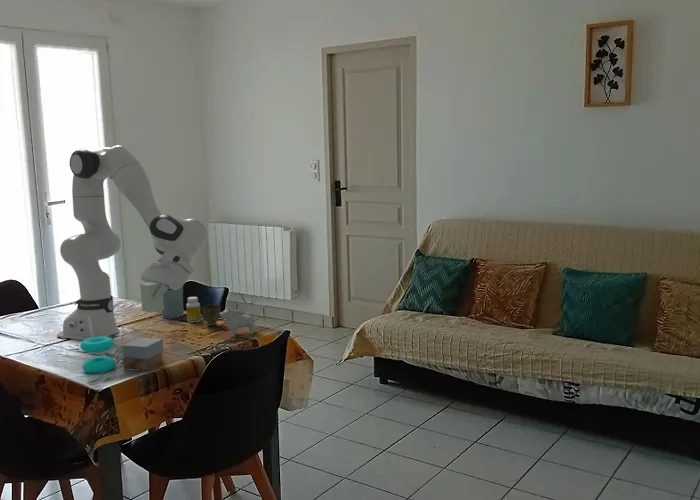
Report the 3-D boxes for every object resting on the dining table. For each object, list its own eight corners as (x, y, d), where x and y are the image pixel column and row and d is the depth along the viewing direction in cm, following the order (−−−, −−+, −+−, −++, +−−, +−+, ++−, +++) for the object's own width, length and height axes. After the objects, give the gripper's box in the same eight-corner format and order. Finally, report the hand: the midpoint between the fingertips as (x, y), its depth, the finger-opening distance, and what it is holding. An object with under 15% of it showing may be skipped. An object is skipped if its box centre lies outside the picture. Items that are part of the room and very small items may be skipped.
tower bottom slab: (124, 370, 223) (123, 358, 222) (137, 361, 231) (136, 350, 231) (150, 371, 221) (149, 359, 220) (162, 362, 230) (161, 350, 229)
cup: (225, 323, 275) (223, 303, 274) (215, 328, 268) (214, 308, 267) (208, 322, 278) (207, 303, 276) (198, 327, 271) (197, 307, 269)
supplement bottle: (197, 323, 277) (196, 299, 276) (185, 323, 279) (183, 299, 277) (203, 319, 283) (201, 296, 281) (190, 319, 284) (189, 296, 282)
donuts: (119, 336, 225) (98, 345, 215) (122, 366, 226) (101, 376, 217) (95, 334, 228) (72, 342, 219) (97, 363, 230) (76, 373, 220)
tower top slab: (123, 357, 223) (122, 345, 223) (140, 349, 232) (139, 337, 231) (147, 359, 220) (146, 346, 220) (163, 350, 229) (162, 339, 228)
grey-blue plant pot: (181, 318, 286) (179, 289, 284) (156, 319, 286) (154, 290, 284) (187, 312, 296) (185, 284, 294) (163, 313, 296) (161, 285, 294)
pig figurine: (220, 334, 260) (218, 306, 259) (254, 330, 264) (252, 303, 262) (221, 337, 255) (219, 309, 254) (256, 334, 259) (254, 306, 257)
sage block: (142, 310, 229) (140, 283, 228) (155, 307, 233) (153, 281, 232) (150, 312, 226) (148, 285, 225) (164, 309, 230) (161, 283, 228)
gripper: (151, 253, 239) (127, 286, 233) (184, 259, 225) (160, 294, 219) (163, 264, 243) (140, 297, 237) (197, 270, 229) (173, 305, 223)
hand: (150, 296), depth 228 cm, fingers closed on sage block, 5 cm apart
